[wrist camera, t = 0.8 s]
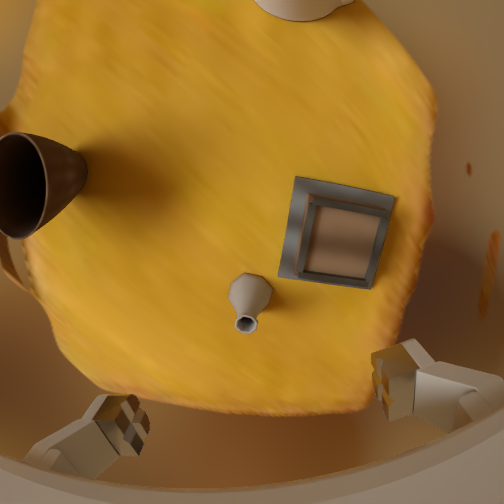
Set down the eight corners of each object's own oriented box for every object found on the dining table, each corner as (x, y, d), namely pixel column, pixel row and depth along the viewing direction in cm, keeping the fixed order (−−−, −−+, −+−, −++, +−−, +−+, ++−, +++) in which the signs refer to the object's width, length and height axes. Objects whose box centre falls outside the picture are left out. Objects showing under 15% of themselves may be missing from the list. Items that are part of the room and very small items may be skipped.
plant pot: (60, 117, 42) (-2, 116, 27) (119, 152, 45) (61, 159, 29) (34, 189, 47) (-25, 208, 32) (87, 227, 49) (32, 259, 34)
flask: (242, 264, 50) (235, 293, 40) (280, 286, 51) (282, 317, 41) (221, 298, 52) (211, 331, 43) (257, 317, 53) (255, 352, 44)
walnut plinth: (295, 176, 45) (298, 179, 40) (392, 195, 45) (405, 201, 40) (278, 274, 50) (278, 288, 45) (369, 287, 50) (377, 300, 45)
